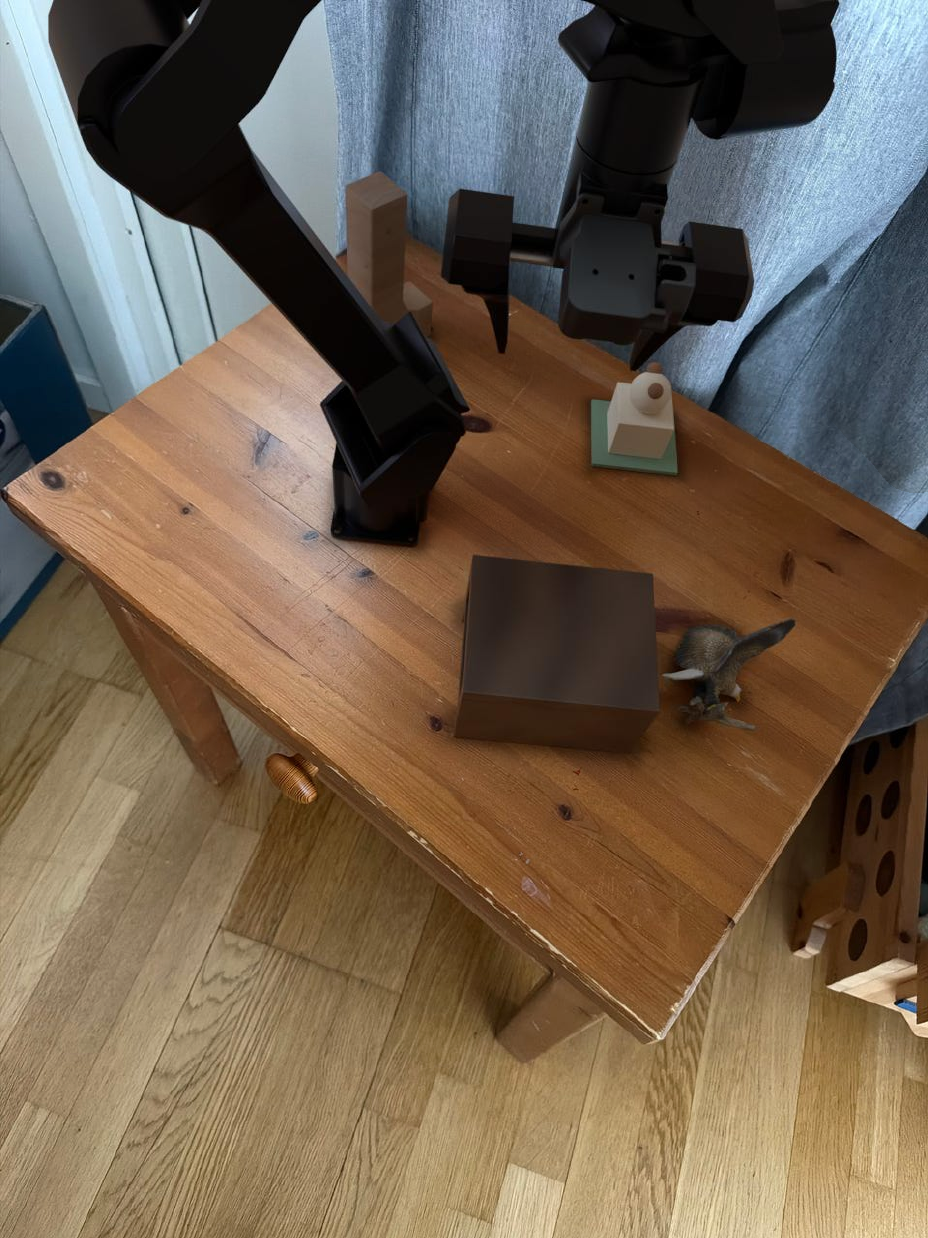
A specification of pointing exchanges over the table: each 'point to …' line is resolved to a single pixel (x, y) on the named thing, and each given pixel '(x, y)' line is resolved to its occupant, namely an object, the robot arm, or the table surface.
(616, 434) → the cream cube with ball
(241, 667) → the table surface
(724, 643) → the eagle figurine
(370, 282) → the wooden block
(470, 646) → the dark brown wooden box
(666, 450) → the coaster
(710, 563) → the table surface
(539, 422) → the table surface
